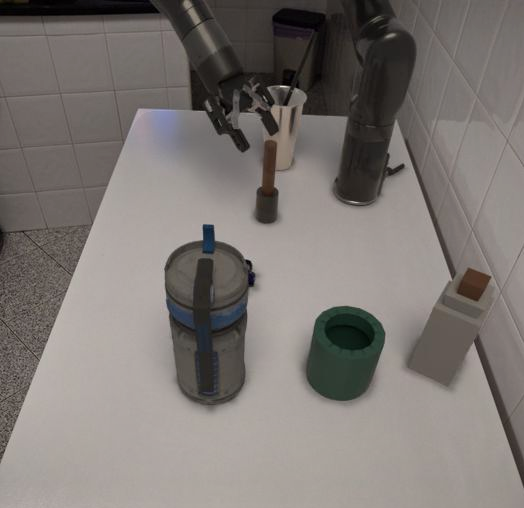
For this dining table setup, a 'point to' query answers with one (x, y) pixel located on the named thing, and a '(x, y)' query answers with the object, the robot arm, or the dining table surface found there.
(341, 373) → the green tube segment
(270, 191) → the pestle
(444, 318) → the perfume bottle
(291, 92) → the metal cup with utensils
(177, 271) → the beverage bottle
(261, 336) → the dining table surface
